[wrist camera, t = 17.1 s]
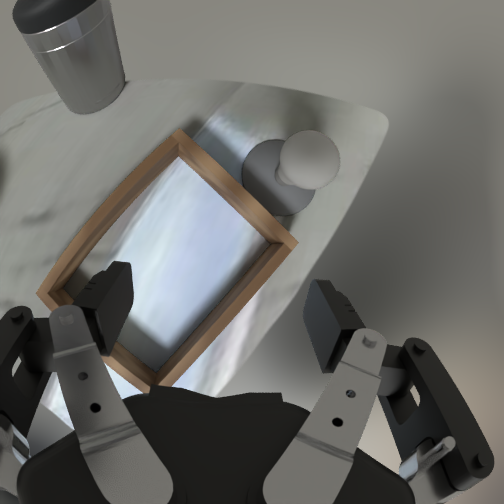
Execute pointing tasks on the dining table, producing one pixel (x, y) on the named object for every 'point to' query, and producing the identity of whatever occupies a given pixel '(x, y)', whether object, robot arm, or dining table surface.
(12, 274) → the dining table surface
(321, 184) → the lightbulb
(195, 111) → the dining table surface
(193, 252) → the dining table surface
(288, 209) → the mat
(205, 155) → the shallow wooden tray
